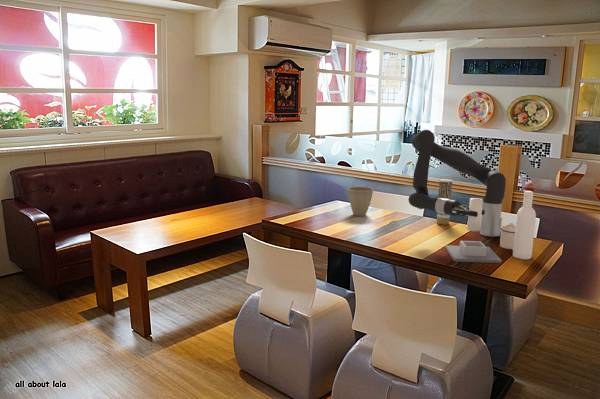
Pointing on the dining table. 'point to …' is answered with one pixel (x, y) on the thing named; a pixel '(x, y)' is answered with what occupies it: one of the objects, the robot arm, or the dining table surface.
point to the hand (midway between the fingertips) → (480, 213)
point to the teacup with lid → (507, 236)
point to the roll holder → (472, 252)
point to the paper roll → (475, 222)
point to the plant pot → (360, 199)
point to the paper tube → (444, 192)
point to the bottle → (524, 228)
